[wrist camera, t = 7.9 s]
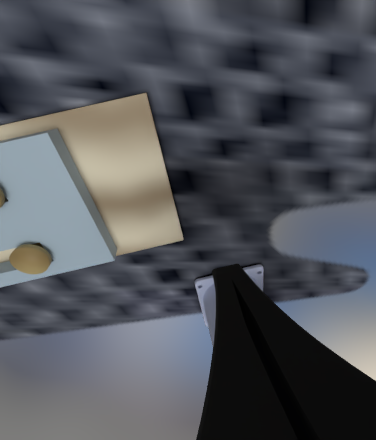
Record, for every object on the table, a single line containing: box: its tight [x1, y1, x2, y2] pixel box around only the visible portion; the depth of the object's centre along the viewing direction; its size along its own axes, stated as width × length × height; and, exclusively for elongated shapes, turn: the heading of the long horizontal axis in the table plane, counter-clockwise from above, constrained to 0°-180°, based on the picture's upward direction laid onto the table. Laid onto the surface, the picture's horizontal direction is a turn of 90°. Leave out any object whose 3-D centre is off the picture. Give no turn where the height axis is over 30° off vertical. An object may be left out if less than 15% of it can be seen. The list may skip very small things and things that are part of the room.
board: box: [0, 92, 183, 274], centre depth 16 cm, size 12×20×3 cm, turn 101°
